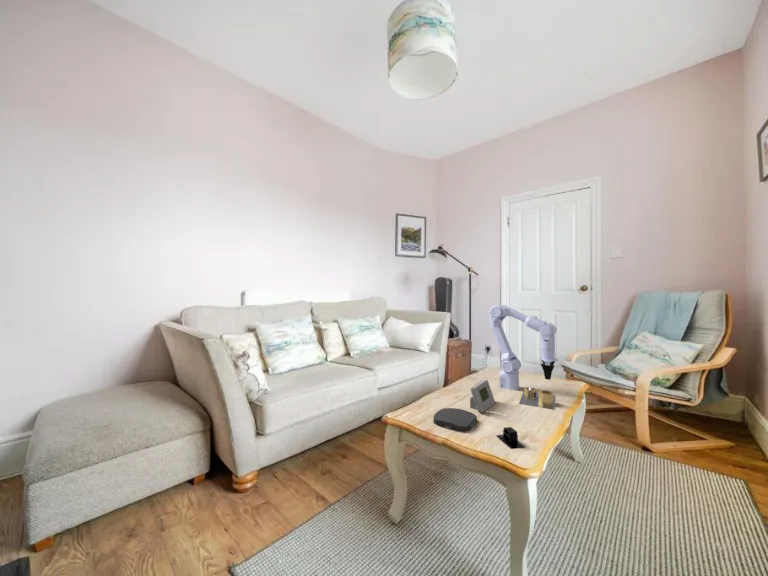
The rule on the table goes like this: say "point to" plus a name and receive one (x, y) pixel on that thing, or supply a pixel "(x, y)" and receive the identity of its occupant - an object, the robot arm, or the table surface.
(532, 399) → the plate
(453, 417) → the media streaming box
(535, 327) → the robot arm
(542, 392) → the brass octagonal sleeve
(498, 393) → the table surface
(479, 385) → the digital clock
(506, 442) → the block on black plate
